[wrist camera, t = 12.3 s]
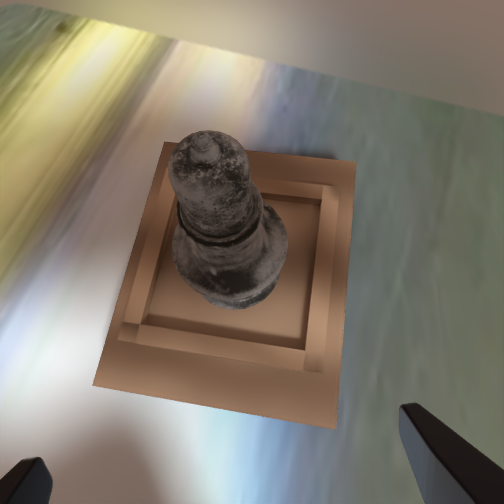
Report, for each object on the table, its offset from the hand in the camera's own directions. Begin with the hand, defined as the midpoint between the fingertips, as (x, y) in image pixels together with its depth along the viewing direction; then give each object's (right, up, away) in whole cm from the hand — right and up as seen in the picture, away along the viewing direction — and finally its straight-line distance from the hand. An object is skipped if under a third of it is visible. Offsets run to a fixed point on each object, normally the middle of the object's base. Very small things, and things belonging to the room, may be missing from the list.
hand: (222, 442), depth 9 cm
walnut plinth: (0, +3, +16) cm, 16 cm away
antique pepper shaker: (0, +4, +13) cm, 14 cm away
